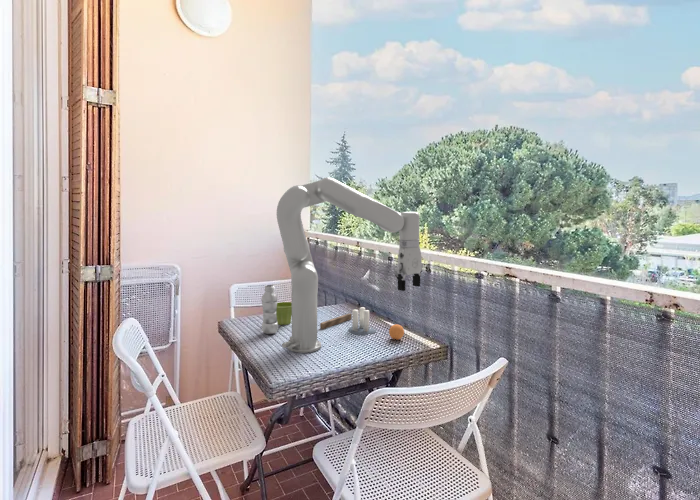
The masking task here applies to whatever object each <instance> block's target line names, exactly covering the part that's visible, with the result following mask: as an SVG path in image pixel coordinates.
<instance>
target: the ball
mask: <svg viewBox="0 0 700 500" xmlns="http://www.w3.org/2000/svg"><path fill="white" fill-rule="evenodd" d="M388 333H389V336H390V338H392V339H393V340H395V339H396V340H397V341H398V340H401V339H402V338H403V337H404V336H405V329H404V327H403V326H402V325H400V324H398V323H397V324H393V325H391V326H390V328H389V330H388ZM396 340H395V341H396Z"/></svg>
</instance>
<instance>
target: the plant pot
mask: <svg viewBox="0 0 700 500" xmlns="http://www.w3.org/2000/svg"><path fill="white" fill-rule="evenodd" d="M276 315H277V323H278V326H282V325H285V326H288V325H289V324H292V303H291V301H290V302H289V301H281V302H280V301H279V302H277V310H276Z"/></svg>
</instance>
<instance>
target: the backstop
mask: <svg viewBox="0 0 700 500" xmlns="http://www.w3.org/2000/svg"><path fill="white" fill-rule="evenodd" d="M352 318H353V313H345V314H343V315H340V316H337V317H334V318H331V319H328V320H326V321H323V322H320V323H319V328H320V330H325V329H328V328H331V327H333V326H335V325H339V324H341V323H344V322H347V321H350V320H352Z"/></svg>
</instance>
